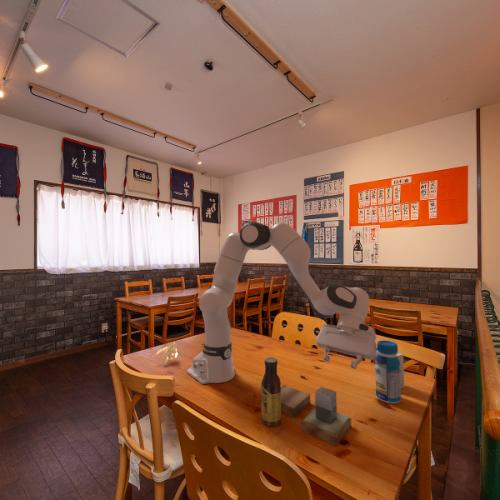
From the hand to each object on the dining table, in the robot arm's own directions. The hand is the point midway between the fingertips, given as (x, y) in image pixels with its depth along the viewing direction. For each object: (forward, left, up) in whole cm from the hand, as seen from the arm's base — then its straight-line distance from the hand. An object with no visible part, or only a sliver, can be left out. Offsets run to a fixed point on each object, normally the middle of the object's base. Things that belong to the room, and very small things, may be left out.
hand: (339, 364), depth 92 cm
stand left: (-16, -7, -16) cm, 23 cm away
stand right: (0, -11, -16) cm, 19 cm away
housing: (0, -11, -13) cm, 17 cm away
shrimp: (-82, -12, -16) cm, 84 cm away
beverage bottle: (+10, +19, -16) cm, 27 cm away
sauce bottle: (-14, -19, -16) cm, 29 cm away
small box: (+8, +30, -16) cm, 35 cm away
